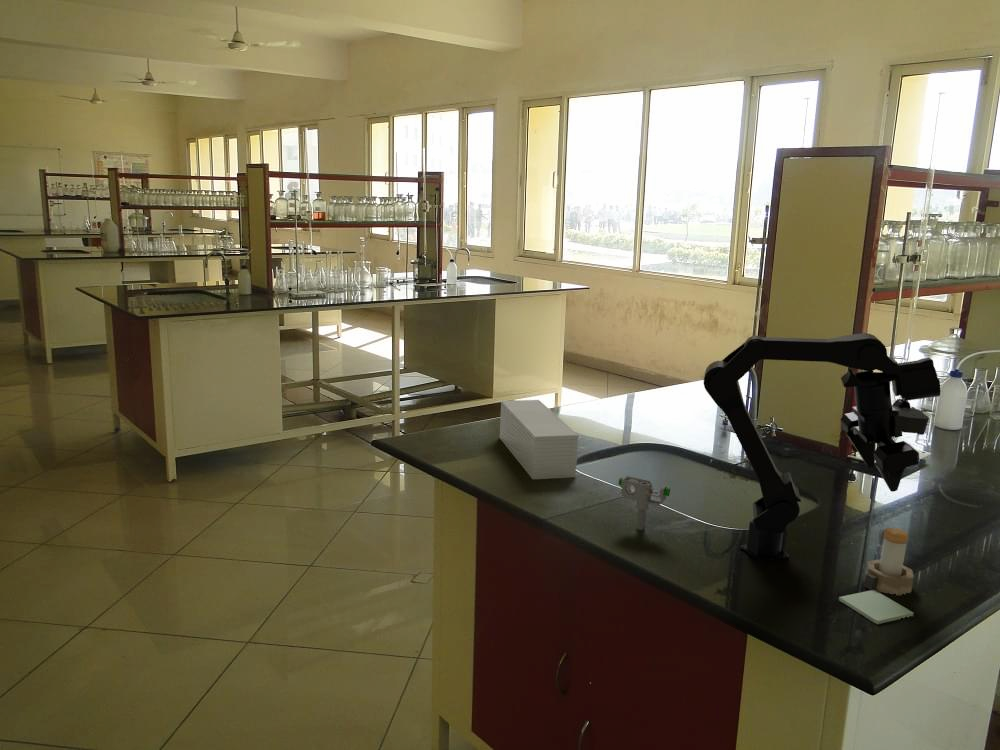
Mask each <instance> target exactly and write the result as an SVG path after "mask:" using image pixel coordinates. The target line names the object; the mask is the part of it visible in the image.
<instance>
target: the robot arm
mask: <svg viewBox="0 0 1000 750" xmlns="http://www.w3.org/2000/svg"><path fill="white" fill-rule="evenodd" d="M887 351H888V349H887V348H886V345H885V344H884V342H882V341H881V340H880V339H879V338H878V337H877V336H876V335H873V334H871V333H866V332H862V333H856V334H855V333H853V334H847V335H842V336H836V337H833V338H803V337H802V338H800V337H775V336H774V337H771V336H770V337H767V336H760V335H752V336H750V337H748V338H746V340H745V341H744V342H743V343H742V344H741V345H739V346H738V347H736V349H734V350H733V351H731V352H730V353H729V354H728V355H726V356H725V357H724V358H723V359H721V360H716V361H713V362H712V363H710V364H709V365H708V366H707V367H706V369H705V371H704V376H703V386H704V389H705V391H706V393H708V395H709V396H710V398H711V399H712V400H713V402H714V403H715V404H716V406H717V407H718V408H719V409H720V410H721V411H722V412H723V413H724V414H725V416H726V418H727V419H728V422H729V424H730V426H731V428H732V430H733V431H734V433H735V436H736V437H737V440H738V442H739V443H740V446H741V447H742V449H743V451H744V454H745V456H746V458H747V460H748V462H749V463H750V466H751V468H752V471H754V473H755V476H756V477H757V479H758V482H759V487H760V490H761V496H762V497H760V498H759V499H757V500H756V501H754V502H753V503H752V513H753V519H752V520H750V521H749V525H748V533H747V541H746V542H747V543H746V544H742V545H740V549H742V550H743V551H745V553H747V554H749V555H750V556H751V557H754V558H756V559H757V560H759V561H760V562H763V563H764V562H772V561H777V560H783V559H788V558H790V555H789V554H788V553H787V552H786V551H785V549H786V542H787V535H788V530H787V526H788V524H789V523H792V522H794V521H795V520H796V519H797V518H798V517H799V515H800V512H801V510H800V509H801V508H800V503H801V502H802V499H801V495H800V491H799V488H798V487H797V486H796V485H795V483H794V481H793V480H792V476H791V471H787V472H786V473H784V474H783V473H782V472H781V471H780V470H779V469H778V468H777V466H776V465H775V462H774V460H773V458H772V456H771V455H770V453H769V450H768V449H767V446H766V445H765V442H764V440H763V439H762V436H761V435H760V433H759V431H758V428H757V427H756V424H755V422H754V420H753V419H752V416H751V414H750V412H749V410H748V408H747V406H746V404H745V401H744V399H743V393H742V390H741V387H740V382H739V380H741V379H742V377H744V376H745V375H746V374H747V373H748V372H749V371H750V370H751V369H752V368H753V367H754V366H755V365H756V364H757V363H758V362H759V361H761V360H765V361H767V360H768V361H769V360H770V361H794V362H795V361H797V362H820V363H821V362H822V363H825V362H826V363H830V364H836V365H838V366H842V367H845V368H848V370H847V372H846V373H845V374H843V375H842V376H841V377H840V380H841V382H842V385H843V387H844V388H845V389H846V388H853V389H854V397H855V398H854V399H855V405H856V406H852V412H848V413H844V414H843V416H842V417H841V418H840V420H839V421H840V426H841V429H842V430H843V431H844V433H845V435H846V437H847V438H848V439H849V441H850V442H851V444H852V445H853V447H854V448H855V450H856V452H857V453H858V454H859V455H860V457H861V458H862V460H863V462H864V464H865V465H866V466H867V468H869V469H871V468H874V467H875V468H877V470H878V473H880V475H881V477H882V478H883V480H884V482H885V484H886V486H887V488H888V489H889V491H890V492H897V491H898V489H899V486H900V483H901V480H902V477H903V474H904V471H906V468H908V467H913V466H916V465H919V464H920V462H921V461H920V452H919V451H918V450H917V449H915V448H914V447H913V446H912V445H911V443H908V442H907V441H905V440H902V441H898V442H896V441H895V440H894V439H893V438H900V437H903V433H909V434H917V435H920V436H922V435H923V436H924V435H925V433H926V430H927V427H928V423H929V420H930V417H929V416H927V415H926V414H925V413H924V412H923V411H921V410H920V409H917V408H915V406H911V404H910V402H909V401H914V400H922V399H929V398H936V397H940V396H941V381H940V379H939V378H938V374H937V371H936V368H935V365H934V359H932V358H930V357H924V358H921V359H917V360H911V361H905V362H898V361H897V360H896V359H894V358H893V357H892V356H891V357H889V355H888V352H887ZM852 369H856V370H861V371H854V370H852ZM875 370H877V371H875ZM878 371H879V372H878ZM890 382H891V385H892V390H893V394H894V397H899V396H900V398H897V399H896V400H895V401H894V402H893V403H892V394H891V388H890V387H891V386H890ZM876 444H877V448H876Z"/></svg>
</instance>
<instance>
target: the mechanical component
mask: <svg viewBox="0 0 1000 750" xmlns="http://www.w3.org/2000/svg"><path fill="white" fill-rule="evenodd" d="M618 485H619V486H620V488H621V491H620V492H621V496H622V497H623V498H624V499H628V500H631V501H635V502H636V505H635V508H636V509H637V518H636V520H637V521H636V529H637V530H639V531H642V530H644V529H645V527H646V516H647V511H648V510H649V509H650V506H649V505H654V506H660V505H662V503H664V502H665V500H666V499H667V497H669V496H670V494H671V488H669V487H667V485H662V486H661V487H660V489H659V490H656V489H655V487H654V485H653V482H652V481H650V480H647V479H642V478H639V477H638V478H637V477H633V476H629V475H626V476H624V477H620V478H619V479H618ZM632 487H633V488H634V489H633V488H632ZM655 497H656V498H655Z"/></svg>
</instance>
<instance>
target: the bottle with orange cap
mask: <svg viewBox="0 0 1000 750" xmlns="http://www.w3.org/2000/svg"><path fill="white" fill-rule="evenodd" d="M883 531H884V532H883V540H882V541H883V542H882V546H881V547H882V548H881V553H880V558H879V559H880V565H879V571H880V572H882V573H883V574H887V575H892V576H897V577H900V576H901V573H902V567H903V565H904V560H905V555H906V549H907V543H908V541H909V536H910V535H909V533H908V532H906V531H905V530H902V529H899V528H895V527H887V528H885V529H884V530H883Z"/></svg>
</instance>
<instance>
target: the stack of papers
mask: <svg viewBox="0 0 1000 750" xmlns="http://www.w3.org/2000/svg"><path fill="white" fill-rule="evenodd" d="M500 404H501V405H500V422H499V425H500V426H499V439H500V440H501V442H502V443H503V444H504V445H505V447H506V448H507V450H508V451H510V453H511V454H512V455H513V457H514V459H516V460H517V461H518V463H519V464H520V465H521V467H522V468H523V469H524V470H525V471H526V473H527V474H528V475H529V477H530V478H531V479H532V480H546V479H547V480H548V479H566V478H576V477H577V476H576V474H577V462H578V460H577V458H578V446H579V434H577V433H576V431H575V430H573V429H572V428H571V427H570V426H569V425H568V424H566V423H565V422H564V420H562V419H561V418H560V417H558V416H557V414H555V413H554V412H553V411H552V410H550V408H549V407H547V406H546V404H544V403H543V402H542V401H540V399H525V400H523V399H522V400H521V399H519V400H501V401H500Z"/></svg>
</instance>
